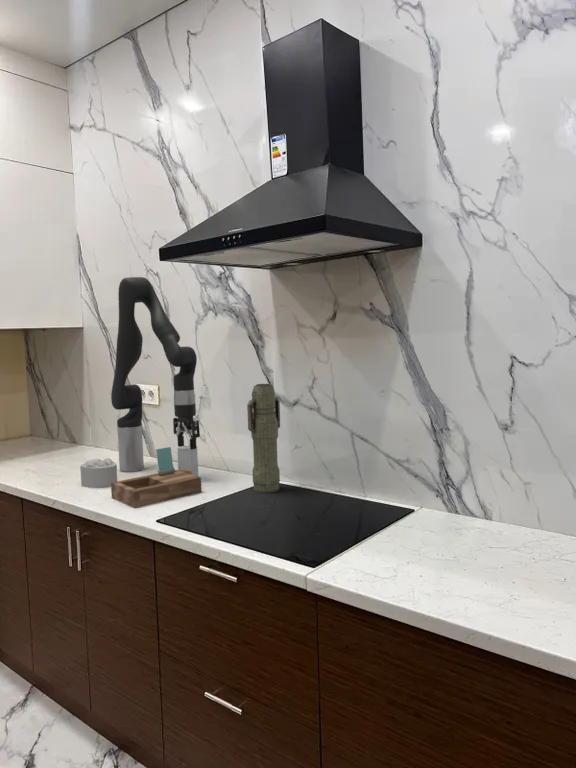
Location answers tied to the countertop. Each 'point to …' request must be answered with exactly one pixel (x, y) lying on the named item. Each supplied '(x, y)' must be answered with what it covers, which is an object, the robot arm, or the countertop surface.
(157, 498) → the socket block
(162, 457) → the teal card holder
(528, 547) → the countertop surface
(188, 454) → the skincare box
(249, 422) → the thermos
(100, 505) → the countertop surface
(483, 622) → the countertop surface
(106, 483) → the lumpy-topped squat cylinder
